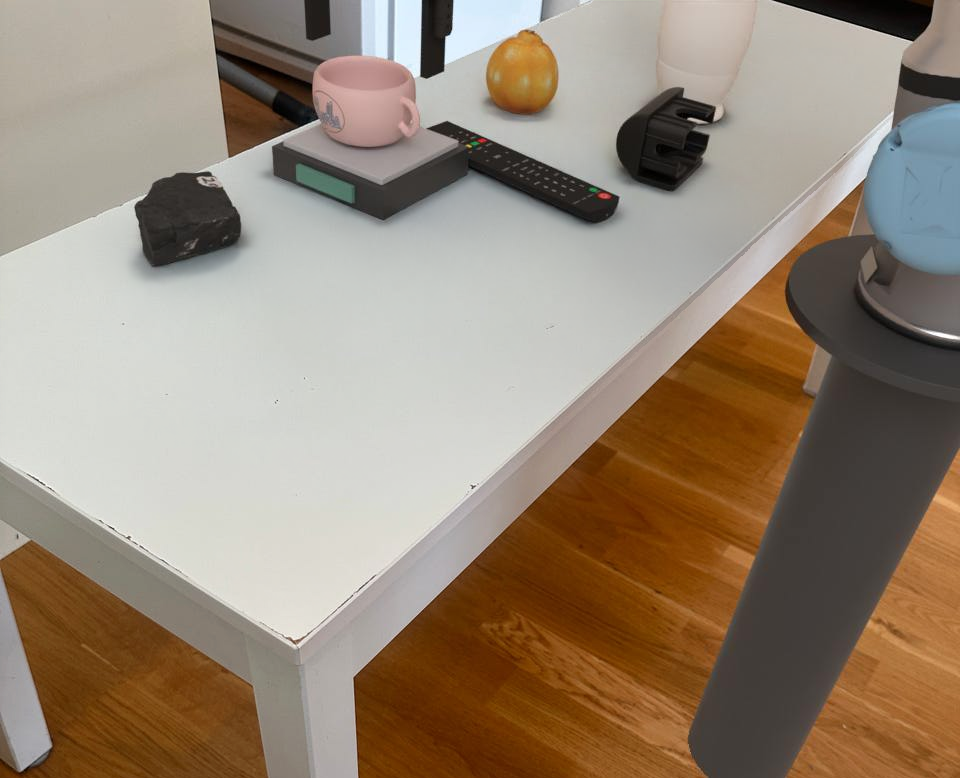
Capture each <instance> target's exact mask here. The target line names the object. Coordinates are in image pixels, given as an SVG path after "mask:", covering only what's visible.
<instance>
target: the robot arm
mask: <svg viewBox="0 0 960 778" xmlns="http://www.w3.org/2000/svg"><path fill="white" fill-rule="evenodd" d="M454 1H455V0H421V14H420V15H421V17H420V18H421V19H420V23H421V24H420V58H419V59H420V61H419V62H420V65H419V66H420V67H419V77H420V78H422V79H425V80H428V79H430V78H432V77H435V76H437V75H439V74H441V73H445V66H446V64H445V62H446V41H447V40H446V39H447V38H446V37H449V36H451V34H452V31H453V28H454V27H453V26H454V24H453V22H454V3H455V2H454ZM330 3H331V1H330V0H303V4H304V6H303V7H304V21H305V40H308V41H310V42H313V41H316V40H319V39H322V38H324V37H327V36H330V35H332V30H331V28H332V26H331V4H330ZM932 7H933V8H932V13H931V19H930V22H929V24H928V26H927V27H926V29H925V30H924V31H923V32H922V33H921V34H920V35H919V36H918V37H917V38H916V39H915V40H914V41H912V42H911V44H909V45H908V46H907V47H906V48H905V49H904V51H903V53H902V57H901V61H900V68H899V75H898V80H897V81H898V82H897V89H896V95H895V100H894V101H895V102H894V107H893V115H892V122H891V129H890V131H889V132H888V133H887V134H885V136H884V137H883V138H882V139H881V141H880V142H879V143H878V146H877V150H876V152H875V153H874V154H873V156H872V159H871V161H870V163H869V166H868V169H867V171H866V176H865V180H864V187H863V202H864V203H863V204H864V211H865V214H866V218H867V221H868V224H869V227H870V229H871V231H872V233H873V234H875V236H876V238H877V239H878V240H879V241H880V242H879V243H878V244H877V246H876V247H875V248H874V249H872V247H871V248H870V249H869V251H868V252H867V253H866V255H865V256H864V258H863V259H862V260H861V266H862V267H861V269H860V272H859V274H858V277H857V280H856V282H855V286H854V292H855V296H856V299H857V301H858V303H859V304H860V306H861V307H862V308H863V309H864V311H865V312H866V313H867V314H868V315H870V316H871V317H872V318H873V319H874V320H876V321H877V322H878V323H880V324H881V325H883V326H884V327H886V328H888V329H889V330H891V331H893V332H895V333H897V334H899V335H901V336H903V337H906V338H908V339H911V340H913V341H916V342H919V343H922V344H925V345H929V346H932V347H936V348H941V349H946V350H952V351H959V352H960V0H934V1H933V6H932Z"/></svg>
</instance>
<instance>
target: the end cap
mask: <svg viewBox="0 0 960 778" xmlns="http://www.w3.org/2000/svg"><path fill="white" fill-rule="evenodd" d="M683 93H684V88H681V87H673V88H670V89H667V90H665V91H664V92H662V93H661V94H660V95H659V94H657V96H656V97H654V98H653V99H652V100H650V101H649V102H647V103H646V104H645V105H644V106H642V107H641V108H640V109H639V110H638V111H636V112H635V113H633V114H632V115H631V116H630V117H628V118H627V119H626V120H625V121H624V122H623V123H622V124H621V126H620V127H619V129H618V132H617V135H616V137H615V149H616V153H617V154H616V155H617V158H618V160H619V162H620V163H621V165H622V166H623V168H624V169H625V170H626V171H627V172H628V173H629V175H630V176H631V178H632V179H634V180H636V181H637V182H639V183H642V184H645V185H647V186H652V187H655V188H658V189H661V190H664V191H668V192H669V191H670V192H673V191H675V190H676V189H677V188H678V187H680V185H682V184H683V183H684V182H685V181H686V180H687V179H688V178H689V177H690V176H691V175H692V174H693V173H694V172H695V171H696V170H698V169H699V168H700V167H701V166H702V164H703V162H704V161H703V160H704V158H703V157H702V156H703V155H704V154H705V153H706V151H707V148H708V145H709V141H710V137H711V135H710V134H709V133H705V132H701V131H699V130H698V131H697V130H694V129H695V128H696V127H697V124H696V123H697V122H694V121H691V120H687V119H688V118H694V119H698V120H701V121H705V122H708V123H707V124H713V123H714V122H713V120H714V116H715V111H716V106H712V105H709V104H705V103H702V102H698V101H695V100H691V99H687V98H684V97H683Z"/></svg>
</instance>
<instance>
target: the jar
mask: <svg viewBox="0 0 960 778" xmlns="http://www.w3.org/2000/svg"><path fill="white" fill-rule="evenodd" d="M757 6H758V0H664V3H663V7H662V11H661V15H660V18H659V19H660V20H659V26H658V33H657V56H656V81H657V87H658V91H659V93H658V95H660V94H661V93H662V92H664V91H665V90H667V89H670V88H673V87H681V88H684V93H683V97H684V98H687V99H691V100H695V101H698V102H702V103H705V104H709V105H712V106H716V111H715V116H714V120H713V123H714V122H717V121H718V120H720V119H722V117H723V116H724V112H725V111H724V110H725V109H724V105H723V101H724V100H725V99H726V97H727V96H728V95H729V93H730V91H731V90H732V88H733V86H734V84H735V82H736V79H737V77H738V74H739V72H740V68H741V66H742V64H743V62H744V60H745V58H746V54H747V53H748V49H749V46H750V43H751V39H752V36H753V32H754V26H755V22H756V16H757V8H758V7H757ZM687 120H691V121H694V122H697V123H696V125H702V124H703V125H704V124H705V125H706V124H709V123H708V122H705V121H701V120H698V119H694V118H688V119H687Z"/></svg>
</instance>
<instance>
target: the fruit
mask: <svg viewBox="0 0 960 778" xmlns="http://www.w3.org/2000/svg"><path fill="white" fill-rule="evenodd" d="M485 81H486V87H487V92H488V94H489V95H490V97H491V100H492V101H494V103H495V104H496V105H497V106H498V107H500V108H501V109H503V110H506V111H508V112H510V113H515V114H520V115H521V114H523V115H527V114H528V115H530V114H534V113H538V112H540V111H542V110H544V109H545V108H546V107H548V106H549V104H551V102H552V101H553V99H554V98H555V96H556V93H557V90H558V86H559V65H558V61H557V59H556V56H555V54H554V53H553V51H552V49H551V48H550V46H549V45H548V44H547V43H545V42H544V39H543V38H542V37H541V36H540V35H539V34H538V33H537V32H536V31H535V30H530V29H522V30H520V31H519V32H518V34H517V35H516V36H513V37H508V38H507V39H505V40H503V41H502V42H501V43H500V44H499V45H498V46H497V47H496V48H495V49H494V51H493V52H492V54H491V55H490V57H489V59H488V61H487V66H486V71H485Z"/></svg>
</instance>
